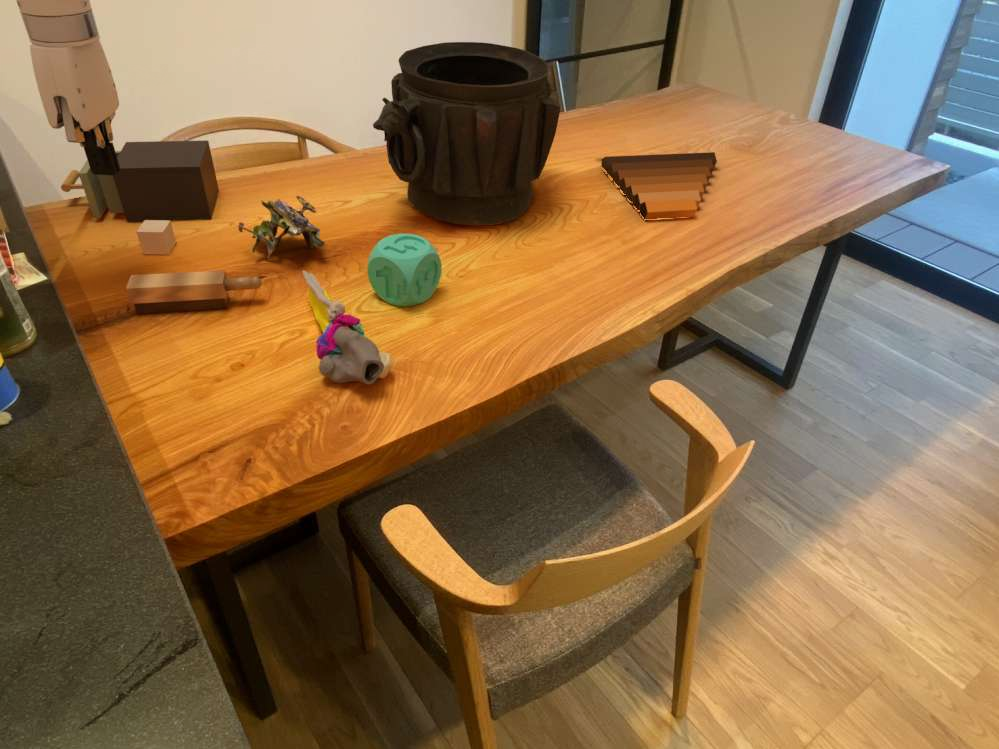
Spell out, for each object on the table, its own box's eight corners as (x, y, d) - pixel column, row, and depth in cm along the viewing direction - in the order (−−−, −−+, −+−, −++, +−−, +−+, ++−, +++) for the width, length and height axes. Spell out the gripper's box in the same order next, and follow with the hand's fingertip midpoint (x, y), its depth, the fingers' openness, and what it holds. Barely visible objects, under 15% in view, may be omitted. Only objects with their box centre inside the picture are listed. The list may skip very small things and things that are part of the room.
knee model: (331, 325, 106) (391, 405, 87) (279, 316, 101) (330, 400, 83) (348, 269, 103) (413, 341, 84) (295, 258, 98) (352, 331, 80)
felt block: (136, 231, 107) (144, 219, 111) (143, 254, 110) (151, 242, 113) (162, 232, 108) (170, 220, 111) (169, 254, 110) (176, 242, 113)
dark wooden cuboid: (127, 222, 118) (110, 168, 112) (141, 193, 126) (125, 141, 120) (211, 219, 120) (199, 166, 114) (219, 191, 129) (208, 140, 123)
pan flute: (707, 164, 152) (600, 168, 147) (710, 149, 150) (602, 153, 145) (765, 215, 133) (645, 222, 128) (770, 198, 131) (649, 205, 126)
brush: (134, 315, 97) (125, 288, 94) (139, 302, 100) (130, 275, 97) (264, 307, 100) (259, 281, 97) (265, 294, 103) (260, 268, 100)
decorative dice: (368, 295, 104) (364, 248, 99) (401, 273, 110) (399, 227, 105) (410, 313, 101) (409, 265, 96) (442, 289, 107) (442, 243, 101)
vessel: (366, 228, 120) (355, 79, 105) (413, 159, 145) (409, 30, 129) (540, 250, 118) (555, 100, 102) (557, 176, 142) (572, 46, 127)
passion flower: (313, 275, 118) (343, 235, 109) (257, 288, 110) (284, 246, 102) (282, 221, 119) (308, 177, 111) (223, 230, 111) (247, 183, 103)
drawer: (66, 218, 116) (49, 174, 111) (82, 192, 124) (67, 149, 119) (172, 214, 119) (160, 171, 114) (181, 189, 127) (171, 147, 122)
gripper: (61, 10, 89) (104, 150, 100) (-7, 39, 77) (50, 194, 89) (120, 14, 89) (156, 153, 100) (61, 44, 77) (109, 198, 89)
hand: (106, 172), depth 95 cm, fingers closed
